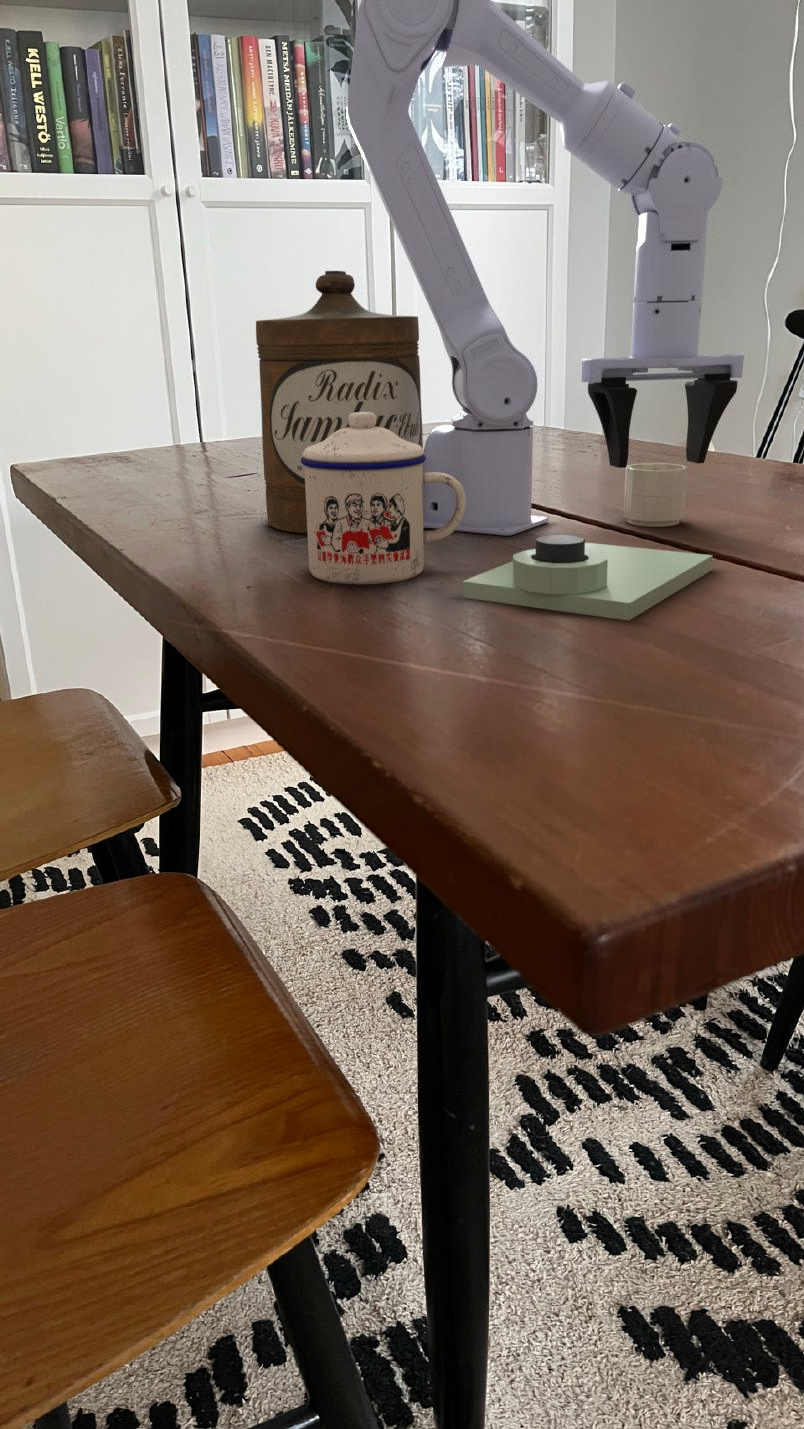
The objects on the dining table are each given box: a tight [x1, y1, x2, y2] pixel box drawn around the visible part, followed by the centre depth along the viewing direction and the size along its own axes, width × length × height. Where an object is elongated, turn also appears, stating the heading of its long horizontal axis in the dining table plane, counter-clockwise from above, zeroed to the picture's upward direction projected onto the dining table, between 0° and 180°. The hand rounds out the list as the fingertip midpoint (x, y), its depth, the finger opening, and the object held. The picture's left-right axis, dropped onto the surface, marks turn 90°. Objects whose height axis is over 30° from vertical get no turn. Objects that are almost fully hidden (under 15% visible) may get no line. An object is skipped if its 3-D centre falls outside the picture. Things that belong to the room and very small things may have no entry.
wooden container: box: [255, 270, 424, 535], centre depth 97 cm, size 15×15×22 cm
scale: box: [461, 541, 714, 621], centre depth 74 cm, size 16×12×3 cm
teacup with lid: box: [301, 412, 466, 586], centre depth 78 cm, size 12×9×12 cm
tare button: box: [535, 534, 586, 563], centre depth 70 cm, size 3×3×2 cm
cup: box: [622, 462, 689, 528], centre depth 96 cm, size 5×6×5 cm
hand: (657, 464), depth 95 cm, fingers open, 7 cm apart
